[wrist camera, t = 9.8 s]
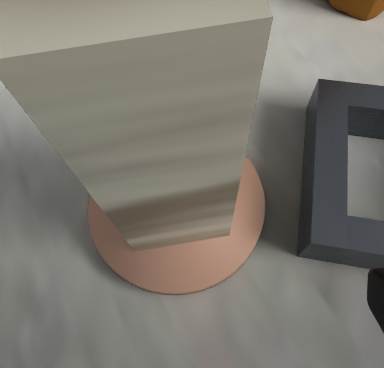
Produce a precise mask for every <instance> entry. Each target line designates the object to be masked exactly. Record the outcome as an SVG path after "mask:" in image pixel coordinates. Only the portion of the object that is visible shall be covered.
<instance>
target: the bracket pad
mask: <svg viewBox="0 0 384 368" xmlns="http://www.w3.org/2000/svg"><path fill="white" fill-rule="evenodd" d="M264 217H265V196H264V191H263V186H262V183H261V180H260V177H259V175H258V173H257V171H256V169H255V167H254V166H253V164H252V163H251V161H250V160H249V159H248V158H247V156H246V155H245V160H244V165H243V170H242V175H241V180H240V185H239V190H238V195H237V200H236V205H235V210H234V215H233V220H232V225H231V230H230V235H229V236H225V237H219V238H213V239H207V240H202V241H196V242H190V243H184V244H178V245H173V246H167V247H161V248H155V249H150V250H144V251H138V252H135V251H134V250H133V249H132V247H131V246H130V245H129V244H128V242H127V241H126V240H125V238H124V237H123V236H122V235H121V233H120V232H119V231H118V229H117V228H116V227H115V226H114V224H113V223H112V222H111V221H110V219H109V218H108V217H107V215H106V214H105V213H104V212H103V210H102V209H101V208H100V206H99V205H98V204H97V203H96V201H95V200H94V199H93V198H92V196H91V195H90V196H89V202H88V223H89V229H90V233H91V237H92V239H93V241H94V244H95V246H96V248H97V250H98V252H99V253H100V255H101V257H102V258H103V259H104V260H105V262H106V263H107V264H108V265H109V266H110V267H111V268H112V269H113V270H114V271H115V272H116V273H117V274H118V275H120V276H121V277H122V278H124V279H125V280H127V281H128V282H130V283H131V284H133V285H135V286H137V287H139V288H141V289H144V290H147V291H150V292H154V293H159V294H165V295H183V294H191V293H196V292H200V291H203V290H206V289H208V288H211V287H214V286H215V285H217V284H219V283H221V282H223V281H224V280H226V279H227V278H228V277H230V276H231V275H232V274H234V273H235V272H236V271H237V270H238V269H239V268H240V267H241V266H242V265H243V264H244V262H245V261H246V260H247V258H248V257H249V256H250V254H251V252H252V251H253V249H254V247H255V245H256V243H257V241H258V239H259V236H260V233H261V231H262V227H263V223H264Z"/></svg>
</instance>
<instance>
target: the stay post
mask: <svg viewBox="0 0 384 368" xmlns="http://www.w3.org/2000/svg"><path fill="white" fill-rule="evenodd" d="M272 20H273V15H272V12H271V10H270V7H269V4H268V2H267V0H0V80H1V81H2V83H3V84H4V85H5V86H6V88H7V89H8V90H9V91H10V93H11V94H12V95H13V97H14V98H15V99H16V100H17V102H18V103H19V104H20V106H21V107H22V108H23V109H24V111H25V112H26V113H27V114H28V116H29V117H30V118H31V120H32V121H33V122H34V123H35V125H36V126H37V127H38V129H39V130H40V131H41V132H42V134H43V135H44V136H45V137H46V139H47V140H48V141H49V143H50V144H51V145H52V146H53V148H54V149H55V150H56V152H57V153H58V154H59V155H60V157H61V158H62V159H63V160H64V162H65V163H66V164H67V166H68V167H69V168H70V169H71V171H72V172H73V173H74V175H75V176H76V177H77V178H78V180H79V181H80V182H81V183H82V185H83V186H84V187H85V189H86V190H87V191H88V192H89V194H90V195H91V196H92V198H93V199H94V200H95V201H96V203H97V204H98V205H99V206H100V208H101V209H102V210H103V212H104V213H105V214H106V215H107V217H108V218H109V219H110V221H111V222H112V223H113V224H114V226H115V227H116V228H117V229H118V231H119V232H120V233H121V235H122V236H123V237H124V238H125V240H126V241H127V242H128V244H129V245H130V246H131V247H132V249H133V250H134V251H135V252H138V251H144V250H150V249H155V248H161V247H167V246H173V245H178V244H184V243H190V242H196V241H202V240H207V239H213V238H219V237H225V236H229V235H230V230H231V225H232V220H233V215H234V210H235V205H236V200H237V195H238V190H239V185H240V180H241V175H242V170H243V165H244V160H245V155H246V150H247V145H248V140H249V135H250V130H251V125H252V120H253V115H254V110H255V105H256V100H257V95H258V90H259V85H260V80H261V75H262V70H263V65H264V60H265V55H266V50H267V45H268V40H269V35H270V30H271V25H272Z"/></svg>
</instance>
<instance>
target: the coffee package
mask: <svg viewBox="0 0 384 368" xmlns="http://www.w3.org/2000/svg"><path fill="white" fill-rule="evenodd" d="M329 4H330V5H331V6H332V7H333V8H335V9H337V10H338V11H344V12H345V13H347V14H349V15H350V16H353V17H356V18H358V19H361V20H369V19H372V18H374V17H376V16H377V15H379V14H380V13H381V12H382V11H383V10H384V0H329Z"/></svg>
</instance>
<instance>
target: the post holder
mask: <svg viewBox="0 0 384 368" xmlns="http://www.w3.org/2000/svg"><path fill="white" fill-rule="evenodd" d="M348 134H349V135H357V136H364V137H372V138H380V139H384V86H377V85H369V84H360V83H351V82H342V81H334V80H325V79H318V82H317V84H316V87H315V89H314V91H313V94H312V96H311V98H310V101H309V103H308V106H307V110H306V125H305V141H304V157H303V172H302V188H301V204H300V219H299V235H298V250H297V256H298V257H304V258H310V259H316V260H321V261H327V262H333V263H339V264H345V265H351V266H357V267H363V268H368V269H375V268H381V267H384V221H378V220H371V219H365V218H359V217H352V216H347V165H348Z"/></svg>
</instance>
